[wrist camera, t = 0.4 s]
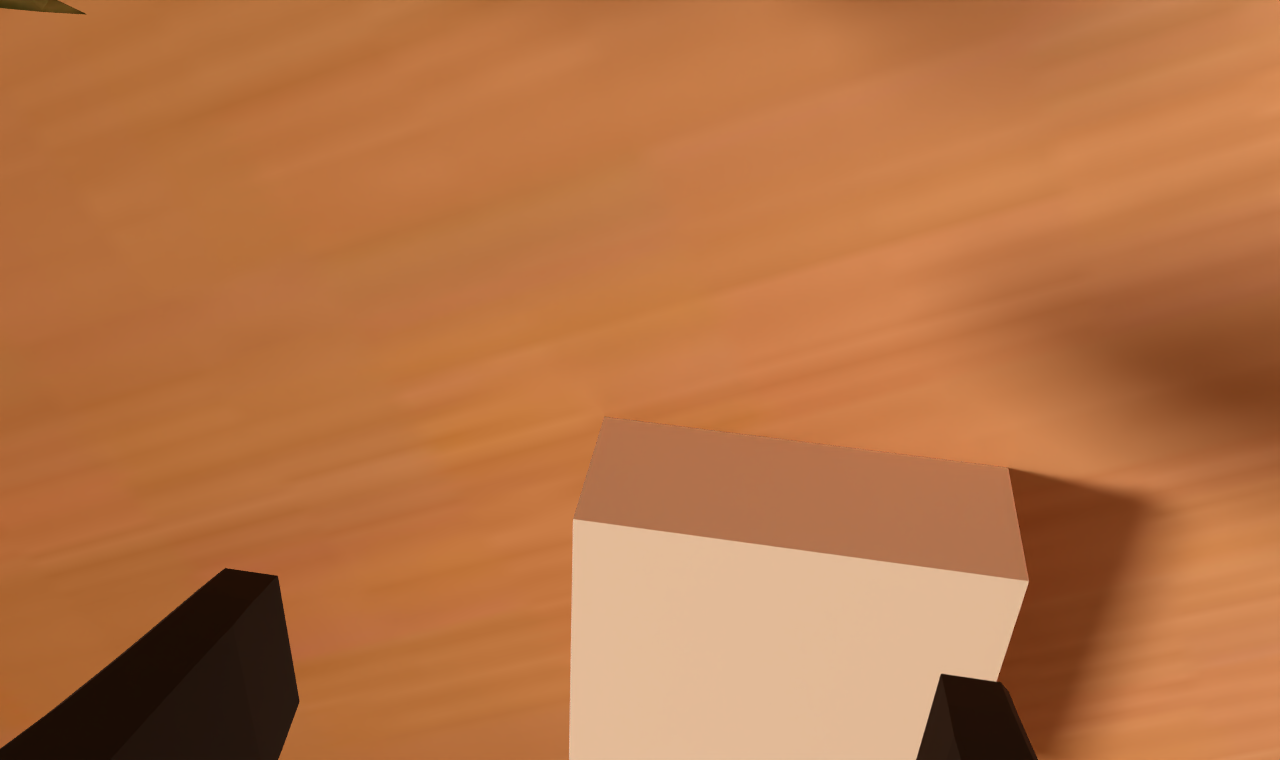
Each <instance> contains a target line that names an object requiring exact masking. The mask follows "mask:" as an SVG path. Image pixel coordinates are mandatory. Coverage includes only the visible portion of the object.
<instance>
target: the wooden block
mask: <svg viewBox="0 0 1280 760" xmlns="http://www.w3.org/2000/svg"><path fill="white" fill-rule="evenodd" d="M1028 583H1029V578H1028V572H1027V567H1026V562H1025V556H1024V551H1023V545H1022V540H1021V534H1020V529H1019V524H1018V518H1017V513H1016V507H1015V502H1014V496H1013V491H1012V486H1011V480H1010V475H1009V469H1008V468H1007V467H999V466H991V465H983V464H975V463H967V462H959V461H951V460H943V459H936V458H928V457H920V456H912V455H904V454H896V453H888V452H880V451H872V450H864V449H856V448H848V447H840V446H832V445H824V444H816V443H809V442H801V441H793V440H785V439H777V438H769V437H761V436H753V435H745V434H737V433H729V432H721V431H713V430H705V429H697V428H690V427H682V426H674V425H666V424H658V423H650V422H642V421H634V420H626V419H618V418H610V417H604V419H603V422H602V426H601V429H600V432H599V436H598V439H597V442H596V446H595V449H594V452H593V455H592V459H591V462H590V465H589V469H588V472H587V475H586V478H585V482H584V485H583V488H582V492H581V495H580V498H579V501H578V505H577V508H576V511H575V515H574V518H573V557H572V617H571V677H570V736H569V760H916V758H917V755H918V751H919V748H920V745H921V741H922V738H923V734H924V731H925V727H926V724H927V720H928V717H929V713H930V710H931V706H932V703H933V699H934V696H935V692H936V689H937V685H938V682H939V678H940V675H941V674H948V675H954V676H961V677H968V678H975V679H982V680H988V681H995V682H996V681H997V678H998V675H999V672H1000V669H1001V666H1002V663H1003V660H1004V657H1005V654H1006V651H1007V648H1008V645H1009V642H1010V638H1011V635H1012V632H1013V629H1014V626H1015V623H1016V620H1017V617H1018V614H1019V611H1020V608H1021V605H1022V602H1023V599H1024V596H1025V592H1026V589H1027V586H1028Z"/></svg>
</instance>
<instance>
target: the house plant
mask: <svg viewBox="0 0 1280 760" xmlns="http://www.w3.org/2000/svg"><path fill="white" fill-rule="evenodd" d="M0 8H7V9H18V10H29V11H39V12H55V13H72V14H85V13H83V12H81V11H79V10H77V9H75V8H73V7H70V6H68V5H66V4H64V3H62V2H60V1H58V0H0Z"/></svg>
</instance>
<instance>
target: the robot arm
mask: <svg viewBox="0 0 1280 760" xmlns="http://www.w3.org/2000/svg"><path fill="white" fill-rule="evenodd" d="M298 704H299V696H298V690H297V684H296V679H295V673H294V667H293V661H292V655H291V650H290V644H289V638H288V632H287V626H286V621H285V615H284V609H283V603H282V597H281V592H280V586H279V580H278V576H275V575H268V574H261V573H255V572H248V571H241V570H234V569H227V568H225V569H224V570H222V571H221V572H220V573H218V574H217V575H216V576H215V577H213V578H212V579H211V580H210V581H208V582H207V583H206V584H205V585H204V586H202V587H201V588H200V589H199V590H197V591H196V592H195V593H194V594H193V595H191V596H190V597H189V598H188V599H187V600H186V601H184V602H183V603H182V604H181V605H180V606H178V607H177V608H176V609H175V610H174V611H172V612H171V613H170V614H169V615H168V616H167V617H165V618H164V619H163V620H162V621H161V622H159V623H158V624H157V625H156V626H155V627H153V628H152V629H151V630H150V631H149V632H148V633H146V634H145V635H144V636H143V637H142V638H140V639H139V640H138V641H137V642H136V643H134V644H133V645H132V646H131V647H130V648H128V649H127V650H126V651H125V652H124V653H122V654H121V655H120V656H119V657H118V658H116V659H115V660H114V661H113V662H111V663H110V664H109V665H108V666H106V667H105V668H104V669H103V670H101V671H100V672H99V673H98V674H96V675H95V676H94V677H93V678H91V679H90V680H89V681H88V682H87V683H85V684H84V685H83V686H82V687H80V688H79V689H78V690H77V691H75V692H74V693H73V694H72V695H70V696H69V697H68V698H67V699H65V700H64V701H63V702H62V703H60V704H59V705H58V706H57V707H55V708H54V709H53V710H51V711H50V712H49V713H48V714H46V715H45V716H44V717H42V718H41V719H40V720H39V721H37V722H36V723H34V724H33V725H32V726H30V727H29V728H28V729H26V730H25V731H24V732H22V733H21V734H20V735H18V736H17V737H16V738H14V739H13V740H12V741H10V742H9V743H7V744H6V745H5V746H3V747H2V748H1V749H0V760H278V758H279V756H280V753H281V751H282V748H283V745H284V743H285V740H286V737H287V734H288V732H289V729H290V726H291V723H292V721H293V718H294V715H295V712H296V710H297V707H298ZM916 760H1038V759H1037V756H1036V754H1035V752H1034V750H1033V748H1032V746H1031V743H1030V741H1029V739H1028V737H1027V734H1026V732H1025V730H1024V727H1023V725H1022V723H1021V720H1020V718H1019V716H1018V713H1017V711H1016V709H1015V706H1014V704H1013V701H1012V699H1011V696H1010V694H1009V692H1008V690H1007V689H1006V688H1005V687H1004V686H1003V684H1002V683H1001V682H995V681H988V680H982V679H975V678H968V677H961V676H954V675H948V674H941V675H940V678H939V682H938V685H937V689H936V692H935V696H934V699H933V703H932V706H931V710H930V713H929V717H928V720H927V724H926V727H925V731H924V734H923V738H922V741H921V745H920V748H919V751H918V755H917V758H916Z"/></svg>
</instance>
